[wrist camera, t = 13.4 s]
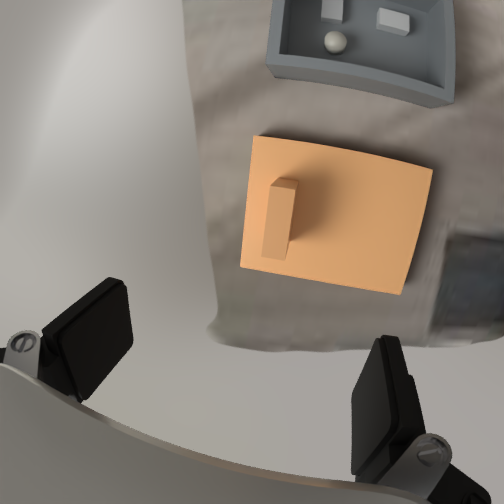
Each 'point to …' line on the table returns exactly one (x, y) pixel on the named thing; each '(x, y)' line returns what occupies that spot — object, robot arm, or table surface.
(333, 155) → the lid
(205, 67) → the table surface
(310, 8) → the tub
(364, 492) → the robot arm
